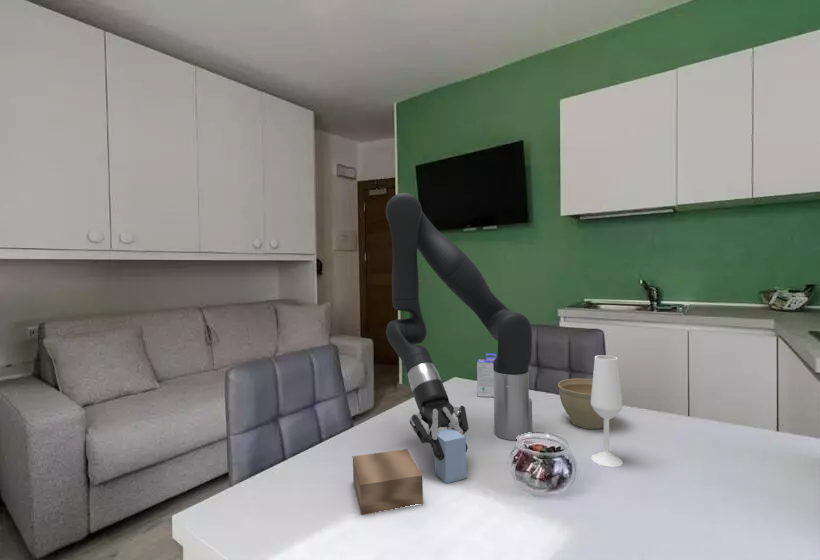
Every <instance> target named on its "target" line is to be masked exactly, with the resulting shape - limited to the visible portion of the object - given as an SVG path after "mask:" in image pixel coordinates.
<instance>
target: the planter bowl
mask: <svg viewBox="0 0 820 560" xmlns="http://www.w3.org/2000/svg"><path fill="white" fill-rule="evenodd" d="M592 382H593V378H568V379H567V378H566V379H563V380H561V381H559V382H558V385H557V387H558V391H559V392H558V393H559V399H560V402H561V405H562V406H563V409H564V411H565V412H566V414H567V416H568V417H569V418H570V422H571V423H572V424H573V425H575V426H577V427H580V428H584V429H595V430H596V429H604V418H602V417H601V416H599V415H598V414H597V413H596V412H595V410H594V409H593V408H592V406H591V393H592Z"/></svg>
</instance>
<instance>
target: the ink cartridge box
mask: <svg viewBox="0 0 820 560" xmlns="http://www.w3.org/2000/svg"><path fill="white" fill-rule="evenodd" d="M491 356H493V357H491ZM496 358H497V353H491V352H490V353H489V352H487V353H485V359H477V362H476V376H477V377H476V379H477V382H476V383H477V385H476V386H477V387H476V388H477V389H476V390H477V397H482V398H483V397H487V398H494V372H493V362H494V360H495V359H496Z"/></svg>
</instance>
